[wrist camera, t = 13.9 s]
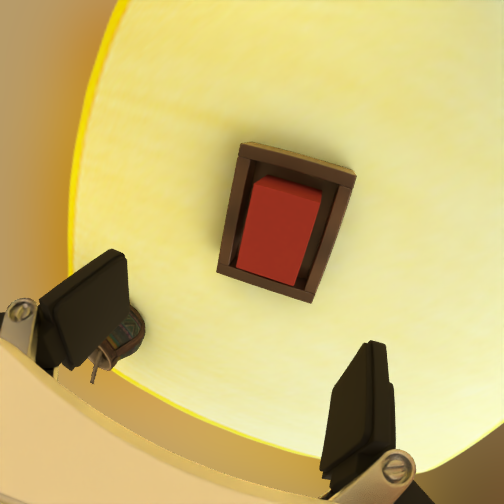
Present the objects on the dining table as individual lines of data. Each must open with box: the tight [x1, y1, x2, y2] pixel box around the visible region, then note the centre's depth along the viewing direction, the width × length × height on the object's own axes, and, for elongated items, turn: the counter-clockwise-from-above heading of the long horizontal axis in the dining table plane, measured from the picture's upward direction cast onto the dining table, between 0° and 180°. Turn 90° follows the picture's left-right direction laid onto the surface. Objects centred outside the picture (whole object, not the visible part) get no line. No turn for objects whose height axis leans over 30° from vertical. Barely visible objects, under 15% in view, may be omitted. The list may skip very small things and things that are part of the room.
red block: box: [236, 175, 322, 286], centre depth 21 cm, size 6×4×4 cm
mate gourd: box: [88, 306, 145, 384], centre depth 30 cm, size 7×8×10 cm
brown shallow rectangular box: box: [216, 142, 357, 304], centre depth 22 cm, size 11×8×3 cm
